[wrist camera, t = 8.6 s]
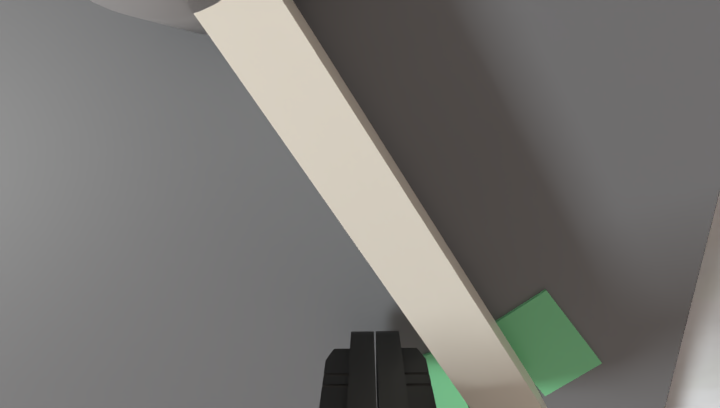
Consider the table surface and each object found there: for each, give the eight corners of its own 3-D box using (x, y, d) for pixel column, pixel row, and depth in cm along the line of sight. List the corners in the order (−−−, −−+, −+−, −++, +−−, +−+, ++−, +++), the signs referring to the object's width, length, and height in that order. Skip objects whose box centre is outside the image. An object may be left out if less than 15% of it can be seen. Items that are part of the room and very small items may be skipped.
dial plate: (-294, -164, 11) (-401, -203, 9) (766, -206, 10) (836, -256, 9) (-38, 458, 18) (-76, 495, 16) (619, 459, 17) (644, 497, 15)
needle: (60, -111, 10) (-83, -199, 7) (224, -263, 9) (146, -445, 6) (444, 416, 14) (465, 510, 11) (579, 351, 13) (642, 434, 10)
